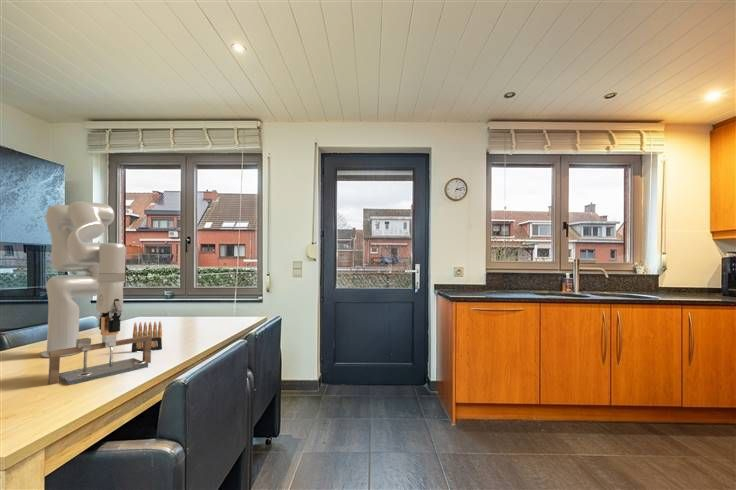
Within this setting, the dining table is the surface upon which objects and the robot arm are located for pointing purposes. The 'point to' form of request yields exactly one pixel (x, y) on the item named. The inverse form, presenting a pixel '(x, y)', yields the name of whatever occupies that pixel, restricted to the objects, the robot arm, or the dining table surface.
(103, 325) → the sliding leg
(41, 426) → the dining table surface
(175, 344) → the dining table surface
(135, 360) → the bolt plate
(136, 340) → the divider frame
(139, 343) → the ammunition clip
